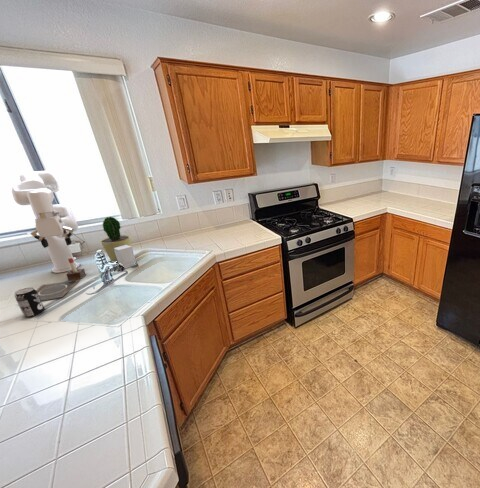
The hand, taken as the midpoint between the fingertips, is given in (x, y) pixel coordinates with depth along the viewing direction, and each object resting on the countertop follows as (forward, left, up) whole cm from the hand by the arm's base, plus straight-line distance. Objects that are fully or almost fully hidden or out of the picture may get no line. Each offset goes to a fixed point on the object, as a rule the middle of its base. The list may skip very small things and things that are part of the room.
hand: (58, 245), depth 142 cm
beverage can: (+34, 0, -21) cm, 40 cm away
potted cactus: (-24, +18, -21) cm, 37 cm away
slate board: (+12, -3, -21) cm, 24 cm away
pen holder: (-3, +2, -21) cm, 21 cm away
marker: (-3, +2, -21) cm, 21 cm away
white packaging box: (-11, +25, -21) cm, 34 cm away
